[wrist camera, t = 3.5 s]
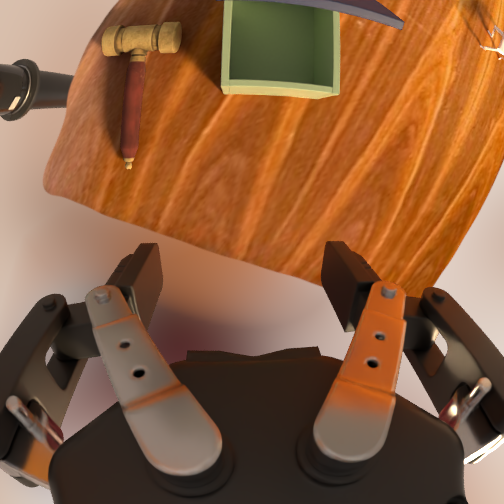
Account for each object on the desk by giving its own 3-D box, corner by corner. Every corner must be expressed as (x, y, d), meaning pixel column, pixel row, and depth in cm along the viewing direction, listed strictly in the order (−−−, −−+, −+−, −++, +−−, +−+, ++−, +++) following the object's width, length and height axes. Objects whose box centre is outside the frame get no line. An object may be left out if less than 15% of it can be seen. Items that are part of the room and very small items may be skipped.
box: (316, 99, 34) (339, 94, 26) (223, 94, 33) (220, 86, 25) (317, 4, 27) (337, -19, 19) (227, -4, 26) (226, -31, 18)
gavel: (158, 175, 34) (90, 172, 33) (166, 167, 38) (104, 164, 37) (177, 17, 24) (104, 23, 23) (184, 26, 28) (117, 30, 27)
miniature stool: (492, 22, 24) (507, 21, 19) (509, 56, 27) (524, 57, 23) (469, 36, 27) (486, 33, 22) (489, 73, 30) (506, 74, 26)
